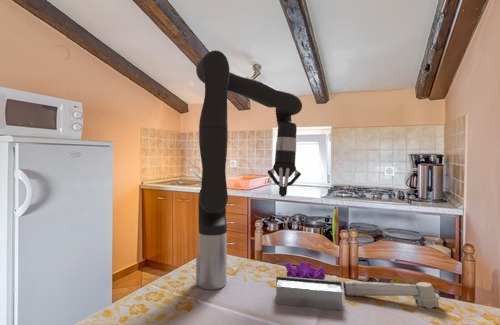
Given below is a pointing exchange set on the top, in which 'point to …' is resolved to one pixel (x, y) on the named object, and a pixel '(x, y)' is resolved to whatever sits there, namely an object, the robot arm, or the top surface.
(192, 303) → the top surface
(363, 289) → the white handheld device
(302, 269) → the purple tube coral
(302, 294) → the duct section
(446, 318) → the top surface
